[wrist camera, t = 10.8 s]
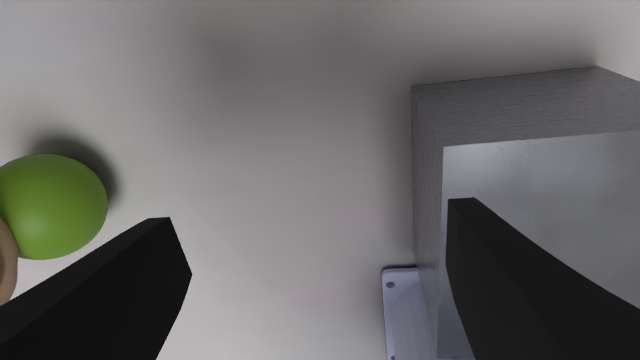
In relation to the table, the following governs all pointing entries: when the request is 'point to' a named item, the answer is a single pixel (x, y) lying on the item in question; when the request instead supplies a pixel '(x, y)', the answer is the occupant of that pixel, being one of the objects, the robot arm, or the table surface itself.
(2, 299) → the snail figurine
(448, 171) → the bore block
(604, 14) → the table surface
